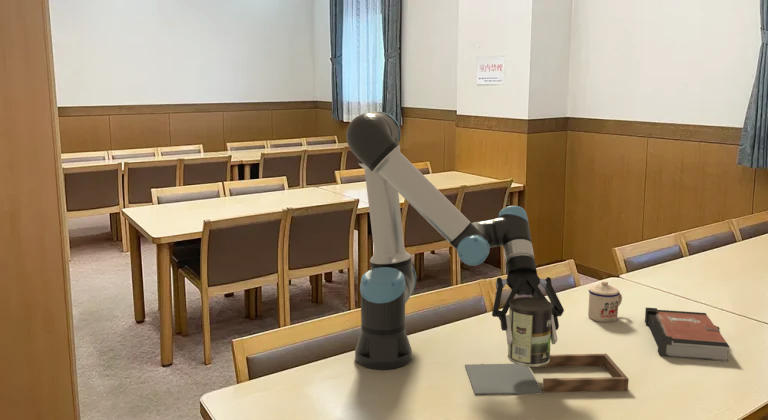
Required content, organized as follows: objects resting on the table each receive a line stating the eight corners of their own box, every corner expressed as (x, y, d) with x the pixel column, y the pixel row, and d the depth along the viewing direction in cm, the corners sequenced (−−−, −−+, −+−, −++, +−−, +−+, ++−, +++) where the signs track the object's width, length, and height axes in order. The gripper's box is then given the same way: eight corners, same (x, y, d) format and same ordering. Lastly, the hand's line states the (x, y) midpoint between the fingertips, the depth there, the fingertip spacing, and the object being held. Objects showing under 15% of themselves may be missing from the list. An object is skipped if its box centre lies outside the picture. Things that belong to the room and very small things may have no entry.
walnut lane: (543, 392, 153) (544, 380, 153) (529, 365, 168) (529, 355, 167) (627, 390, 154) (628, 378, 153) (605, 364, 168) (606, 353, 168)
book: (731, 363, 169) (733, 345, 168) (659, 357, 173) (660, 340, 172) (706, 327, 194) (708, 311, 193) (644, 323, 198) (645, 307, 197)
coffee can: (548, 351, 163) (551, 298, 160) (551, 369, 153) (554, 312, 151) (507, 348, 165) (509, 295, 162) (506, 365, 155) (508, 309, 153)
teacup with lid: (602, 324, 196) (604, 287, 194) (581, 315, 204) (582, 279, 202) (631, 318, 201) (633, 282, 199) (609, 309, 209) (611, 274, 207)
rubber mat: (474, 394, 152) (474, 393, 152) (464, 365, 168) (465, 364, 168) (542, 393, 153) (542, 392, 153) (526, 364, 168) (526, 363, 168)
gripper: (559, 267, 171) (575, 347, 159) (474, 268, 170) (483, 348, 158) (567, 253, 165) (583, 335, 152) (478, 254, 164) (487, 336, 152)
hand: (532, 342), depth 155 cm, fingers closed on coffee can, 10 cm apart
